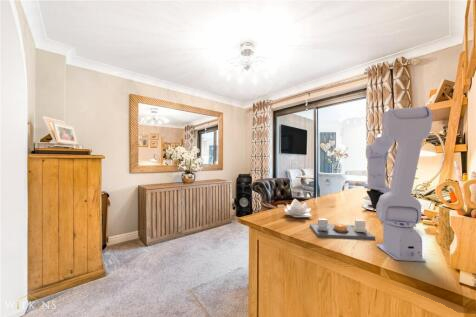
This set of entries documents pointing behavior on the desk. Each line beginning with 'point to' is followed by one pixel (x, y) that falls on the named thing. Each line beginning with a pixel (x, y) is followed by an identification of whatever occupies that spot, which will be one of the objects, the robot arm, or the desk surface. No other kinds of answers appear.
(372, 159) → the robot arm
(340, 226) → the push button
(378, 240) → the desk surface
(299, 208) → the lotus flower
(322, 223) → the grey slider knob
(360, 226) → the toggle lever
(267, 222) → the desk surface
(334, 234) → the panel
